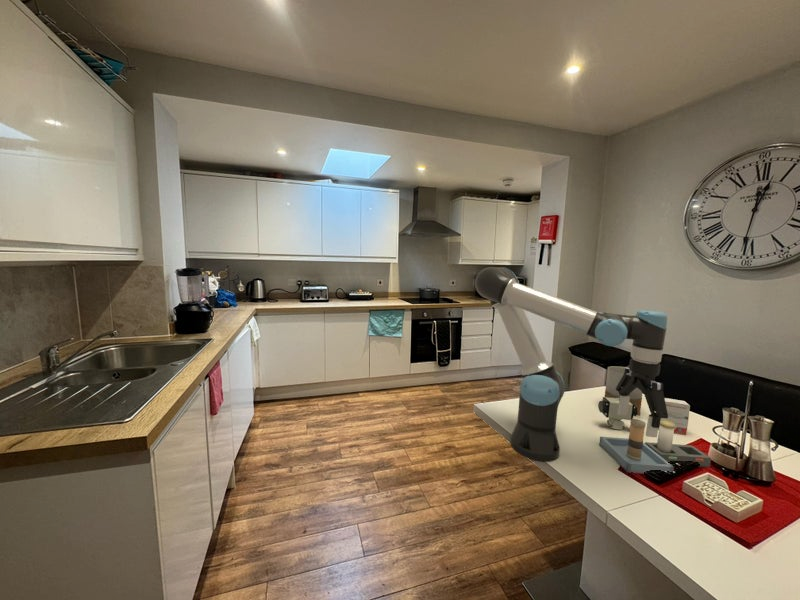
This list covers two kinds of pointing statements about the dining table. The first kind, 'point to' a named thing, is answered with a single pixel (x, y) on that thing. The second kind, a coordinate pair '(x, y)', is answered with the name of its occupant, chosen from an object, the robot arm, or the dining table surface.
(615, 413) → the pneumatic valve
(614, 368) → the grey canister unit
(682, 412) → the ink box
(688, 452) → the fuse holder
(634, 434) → the fuse
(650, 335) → the robot arm
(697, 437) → the dining table surface
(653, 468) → the parts tray
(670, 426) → the cylinder
